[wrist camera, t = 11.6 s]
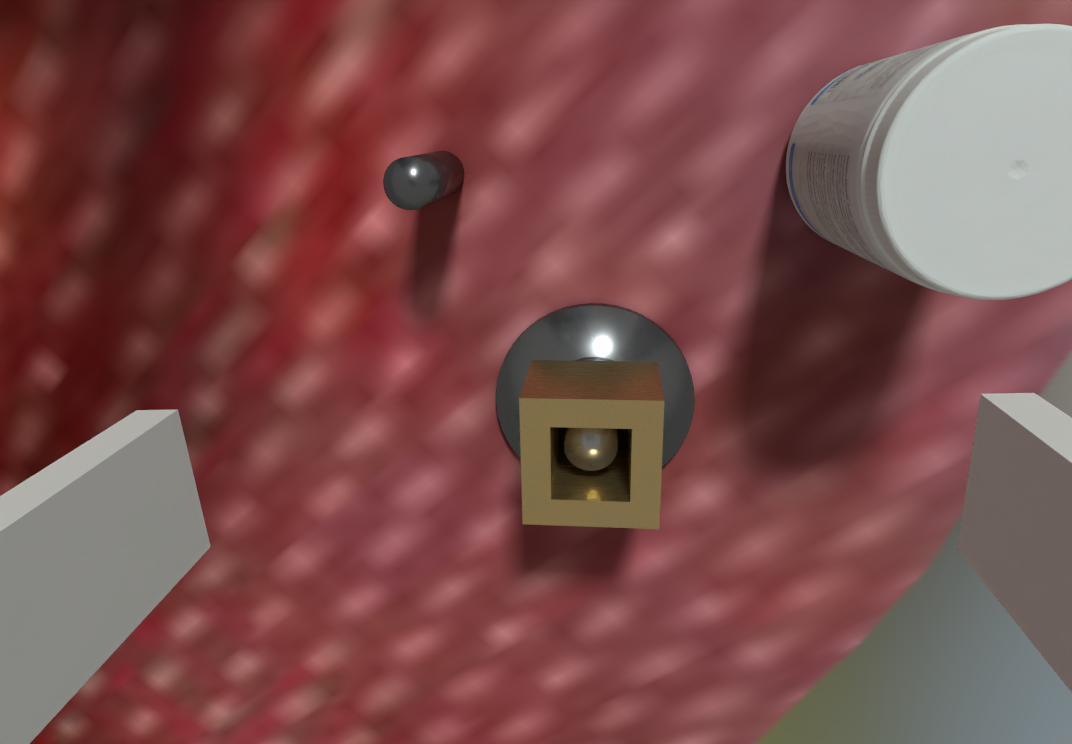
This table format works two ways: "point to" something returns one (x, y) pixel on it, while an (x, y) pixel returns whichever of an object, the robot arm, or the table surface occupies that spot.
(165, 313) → the table surface
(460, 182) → the stand rod
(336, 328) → the table surface
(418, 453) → the table surface
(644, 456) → the collar
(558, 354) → the hub
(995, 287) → the supplement tub
